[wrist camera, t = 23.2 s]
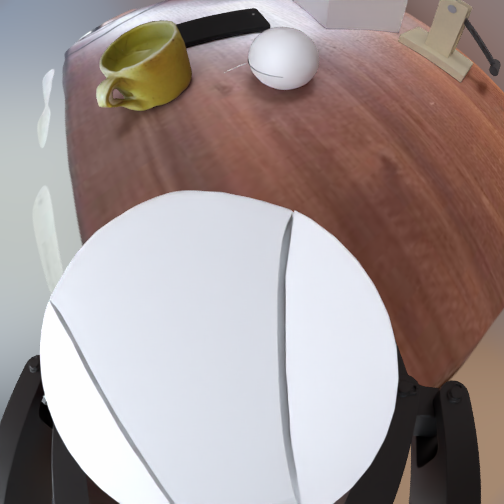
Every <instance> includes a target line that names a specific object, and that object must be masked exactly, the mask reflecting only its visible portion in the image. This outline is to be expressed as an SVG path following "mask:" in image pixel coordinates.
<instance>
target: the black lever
mask: <svg viewBox="0 0 504 504" xmlns="http://www.w3.org/2000/svg"><path fill="white" fill-rule="evenodd" d="M456 1H458V0H456ZM464 25H465V26H466V27H467V29H468V30H469V31H470V33H471V34H472V36H473V37H474V39H475V40H476V41H477V43H478V45H479V46H480V48H481V50H482V51H483V53H484V54H485V56H486V58H487V59H488V61H489V62H490V65H491V66H490V69H489V70H490V73H491V74H492V75H493V76H497V75H498V72H499V69H500V62H499V61H498V60H496V59H493V57H492V55H491V54H490V52H489V50H488V49H487V47H486V46H485V44H484V42H483V41H482V39H481V38H480V36H479V35H478V33H477V32H476V31H475V29H474V27H473V26H472V25H471V23H470V22H469V21H468V19H467V18H465V21H464Z"/></svg>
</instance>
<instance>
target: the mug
mask: <svg viewBox="0 0 504 504" xmlns="http://www.w3.org/2000/svg"><path fill="white" fill-rule="evenodd" d="M100 69H101V71H102V72H103V74H104V75H105V76H106V77H107V79H105V80H104V81H102V82H101V83H100V85H99V86H98V87H97V94H96V98H97V101H98V104H99V106H100V107H119V106H123V107H126V108H128V109H132V110H138V111H144V110H147V109H150V108H152V107H154V106H158V105H163V104H166V103H168V102H170V101H172V100H173V99H175V98H177V97H178V96H179V95H180V93H181V92H182V91H183V90H185V89H186V88H187V87H188V85H189V83H190V80H191V76H192V71H191V67H190V62H189V58H188V54H187V50H186V46H185V43H184V40H183V39H182V36H181V34H180V32H179V30H178V28H177V26H176V24H175V23H173V22H172V21H162V20H160V21H152V22H148V23H145V24H142V25H139V26H137V27H135V28H133V29H131V30H130V31H128V32H126V33H124V34H122V35H121V36H120V37H119V38H117V39H116V40H115V41H114V42H113V43H111V44H110V45H109V47H108V48H107V49H106V50H105V52H104V53H103V55H102V56H101V59H100ZM114 89H117V90H118V91H119V92H120V93H122V95H123V96H124V98H125V99H118V98H116V99H113V90H114Z"/></svg>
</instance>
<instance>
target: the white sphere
mask: <svg viewBox="0 0 504 504" xmlns="http://www.w3.org/2000/svg"><path fill="white" fill-rule="evenodd" d="M248 63H249V65H250V67H251V70H252V72H253V74H254V75H255V76H256V77H257V78H258V79H259V80H260V81H261V82H262V83H264V84H266V85H267V86H270V87H272V88H276V89H280V90H291V89H295V88H298V87H301V86H303V85H305V84H307V83H308V82H309V81H310V80H311V79H312V78H313V77H314V75H315V74H316V73H317V70H318V67H319V51H318V49H317V47H316V46H315V44H314V42H313V41H312V39H311V38H310V37H308V36H307V35H306V34H304V33H303V32H302V31H300V30H297V29H294V28H289V27H275V28H270V29H268V30H265V31H264V32H263V33H261V34H260V35H258V36H257V37H256V38H255V39H254V41H253V43H252V44H251V46H250V49H249V54H248ZM245 64H246V63H245ZM242 65H244V64H242ZM242 65H240V66H242ZM238 67H239V66H238ZM235 68H237V67H235ZM235 68H233V69H235ZM230 70H232V69H230ZM230 70H228V71H230ZM226 72H227V71H226Z"/></svg>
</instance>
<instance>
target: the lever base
mask: <svg viewBox="0 0 504 504" xmlns="http://www.w3.org/2000/svg"><path fill="white" fill-rule="evenodd" d="M471 10H472V7H471V6H470V5H468V4H467V3H465V2H463V1H462V0H458V1H456V0H440V2H439V5H438V8H437V11H436V14H435V17H434V20H433V23H432V26H431V29H430V31H429V32H427V31H425V30H424V29H422V28H420V27H417V28H414V29H412V30H410V31H408V32H405V33H403V34H401V35H400V37H399V40H398V41H399V42H400V43H402V44H404V45H406V46H407V47H409V48H411V49H412V50H414V51H416V52H417V53H419V54H420V55H422V56H424V57H425V58H427V59H428V60H430V61H431V62H433V63H434V64H436V65H437V66H439V67H440V68H441V69H443V70H444V71H446V72H447V73H448V74H450V75H451V76H452V77H454V78H455V79H456V80H458V81H459V82H460V83H461V82H462V80H463V79H464V77H465V76H466V74H467V73H468V71H469V70H470V68H471V66H472V65H473V62H471V61H470V60H469V59H467V58H466V57H465V56H463V55H462V54H461V53H459V52H458V51H456V50H455V49H456V46H457V44H458V42H459V40H460V37H461V35H462V33H463V30H464V28H465V25H464V21H465V18H467V19H468V18H469V16H470V13H471Z"/></svg>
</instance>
